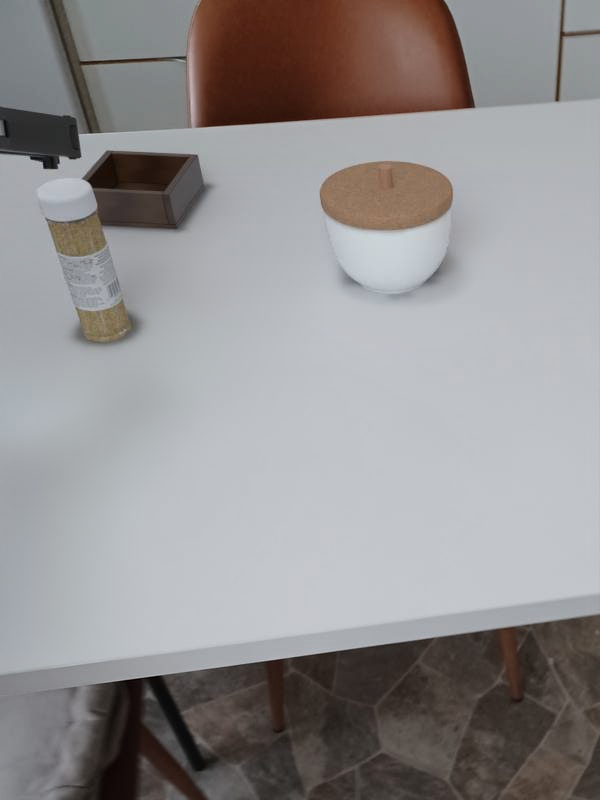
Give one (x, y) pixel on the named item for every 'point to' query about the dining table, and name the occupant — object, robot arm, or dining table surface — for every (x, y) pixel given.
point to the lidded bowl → (388, 223)
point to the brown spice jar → (84, 257)
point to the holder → (145, 188)
